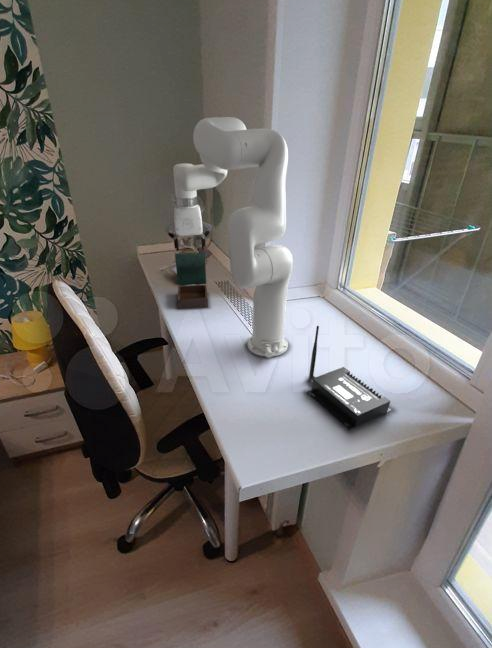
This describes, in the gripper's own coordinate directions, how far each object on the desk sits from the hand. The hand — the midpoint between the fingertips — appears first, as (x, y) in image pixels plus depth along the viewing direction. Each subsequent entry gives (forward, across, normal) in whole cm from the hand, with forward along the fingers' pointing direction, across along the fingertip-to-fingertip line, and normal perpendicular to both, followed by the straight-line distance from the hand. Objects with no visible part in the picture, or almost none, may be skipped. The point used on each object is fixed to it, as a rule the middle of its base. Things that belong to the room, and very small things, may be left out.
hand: (190, 249), depth 146 cm
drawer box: (+18, 0, -9) cm, 20 cm away
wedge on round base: (+17, -2, +12) cm, 21 cm away
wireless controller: (+19, +38, -70) cm, 82 cm away
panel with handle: (+7, 0, -5) cm, 8 cm away
